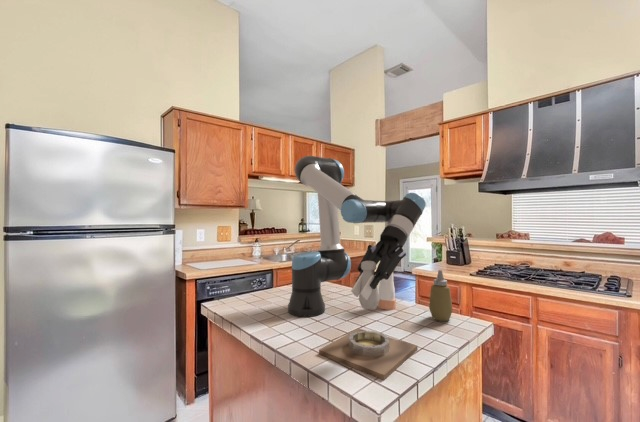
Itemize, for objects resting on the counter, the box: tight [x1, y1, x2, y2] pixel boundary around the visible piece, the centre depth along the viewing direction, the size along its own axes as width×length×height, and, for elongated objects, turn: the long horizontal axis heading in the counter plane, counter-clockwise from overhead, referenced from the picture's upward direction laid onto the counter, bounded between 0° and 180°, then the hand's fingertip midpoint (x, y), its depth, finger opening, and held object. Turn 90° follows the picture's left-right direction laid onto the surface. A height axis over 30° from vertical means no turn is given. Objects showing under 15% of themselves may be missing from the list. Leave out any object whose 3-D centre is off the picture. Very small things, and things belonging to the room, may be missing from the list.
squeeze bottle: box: [428, 269, 453, 322], centre depth 108 cm, size 8×8×18 cm
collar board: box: [318, 328, 418, 381], centre depth 81 cm, size 20×20×4 cm
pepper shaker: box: [377, 268, 397, 311], centre depth 122 cm, size 7×7×19 cm
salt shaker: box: [358, 261, 379, 310], centre depth 82 cm, size 6×6×13 cm
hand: (359, 295), depth 80 cm, fingers closed on salt shaker, 3 cm apart
